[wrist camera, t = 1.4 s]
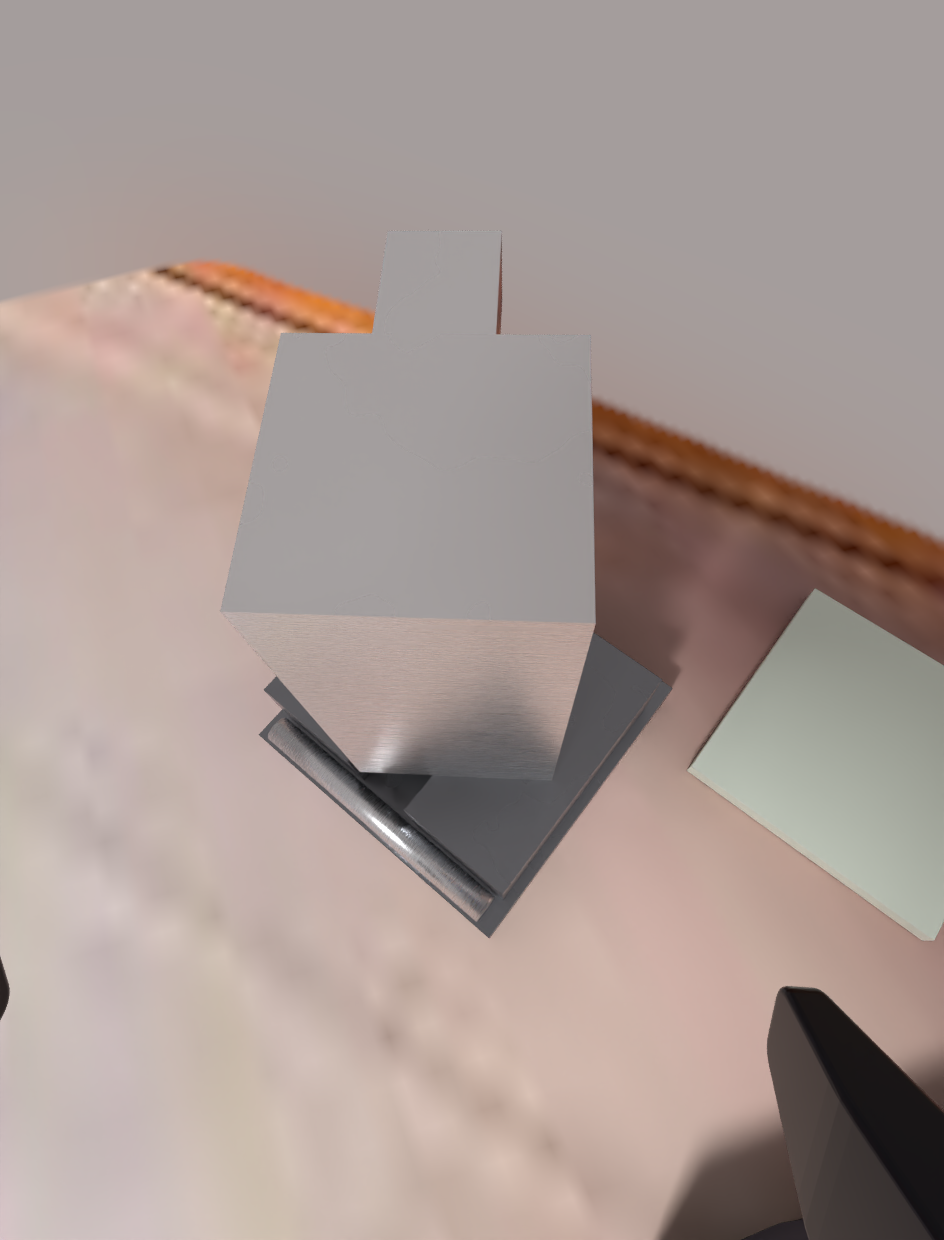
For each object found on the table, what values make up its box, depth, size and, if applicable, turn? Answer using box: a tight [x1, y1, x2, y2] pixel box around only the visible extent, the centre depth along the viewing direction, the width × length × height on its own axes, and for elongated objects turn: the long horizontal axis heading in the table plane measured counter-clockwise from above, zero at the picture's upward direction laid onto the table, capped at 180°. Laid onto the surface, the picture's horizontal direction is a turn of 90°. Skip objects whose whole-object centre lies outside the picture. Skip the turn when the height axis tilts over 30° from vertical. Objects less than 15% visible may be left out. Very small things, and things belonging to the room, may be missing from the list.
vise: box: [259, 632, 672, 938], centre depth 20 cm, size 9×9×6 cm
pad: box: [687, 588, 944, 941], centre depth 22 cm, size 8×8×1 cm
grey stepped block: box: [220, 231, 596, 781], centre depth 16 cm, size 7×5×10 cm
